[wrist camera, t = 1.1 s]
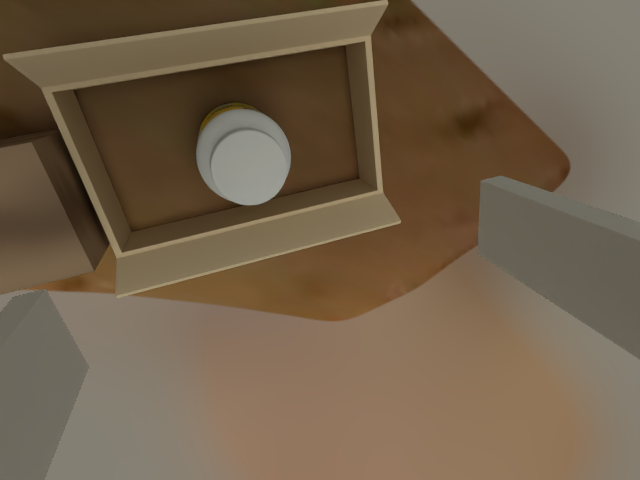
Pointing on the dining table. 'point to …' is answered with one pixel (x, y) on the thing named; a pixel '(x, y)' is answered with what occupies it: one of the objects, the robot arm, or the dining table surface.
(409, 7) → the dining table surface
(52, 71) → the carton
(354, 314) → the dining table surface
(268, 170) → the pill bottle
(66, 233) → the block
